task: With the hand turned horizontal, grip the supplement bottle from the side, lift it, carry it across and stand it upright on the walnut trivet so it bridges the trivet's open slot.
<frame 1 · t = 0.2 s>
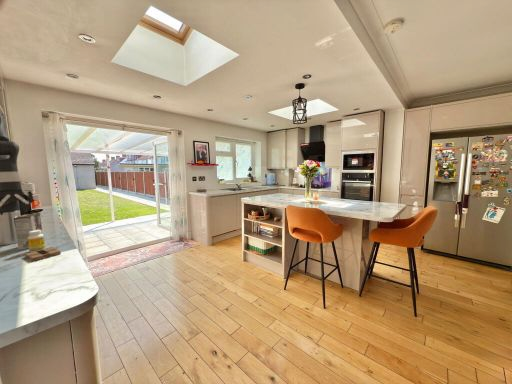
hand: (14, 212, 104), 18 cm above the counter, tool pointing down, fingers open, 8 cm apart
supplement bottle: (37, 250, 100), on the counter
walnut trivet: (43, 255, 93), on the counter
coffee box: (31, 246, 106), on the counter
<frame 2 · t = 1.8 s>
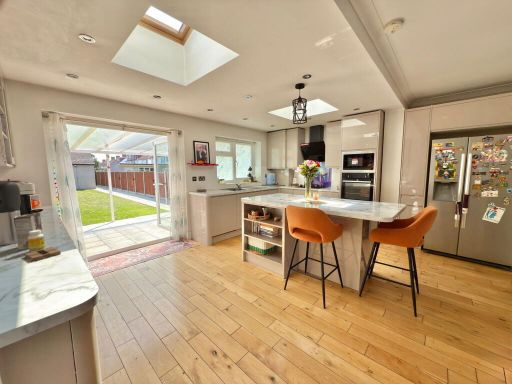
nothing on the counter moved.
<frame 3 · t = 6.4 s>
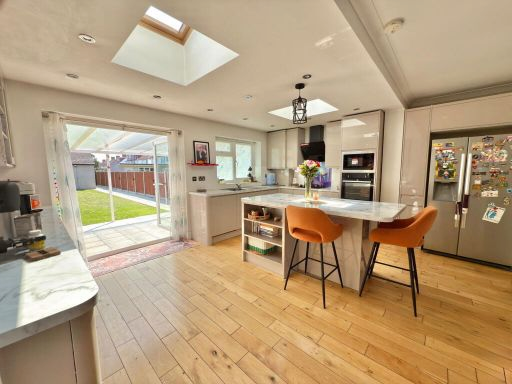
hand: (43, 236, 101), 6 cm above the counter, tool horizontal, fingers closed on supplement bottle, 5 cm apart
supplement bottle: (37, 250, 100), on the counter, touching gripper
everything else where it was.
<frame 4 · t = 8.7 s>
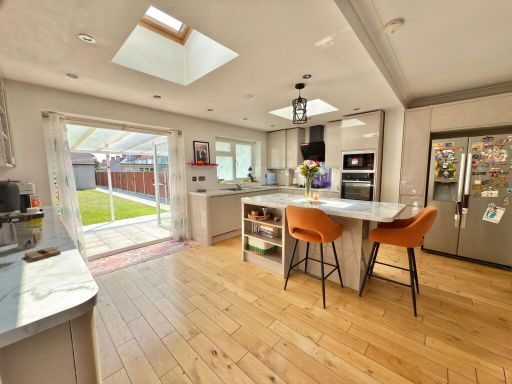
hand: (41, 214, 96), 18 cm above the counter, tool horizontal, fingers closed on supplement bottle, 5 cm apart
supplement bottle: (35, 229, 94), point 11 cm above the counter, touching gripper
everything else where it was.
when the fingers open (9 cm above the counter, at t = 11.3 s): supplement bottle drops 1 cm, resting on walnut trivet.
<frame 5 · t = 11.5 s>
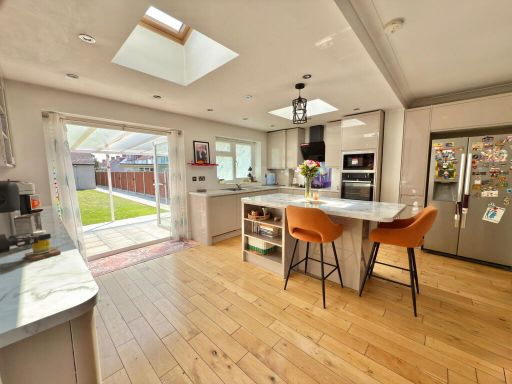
hand: (47, 234, 94), 9 cm above the counter, tool horizontal, fingers open, 7 cm apart
supplement bottle: (42, 252, 92), point 1 cm above the counter, touching walnut trivet
everything else where it was.
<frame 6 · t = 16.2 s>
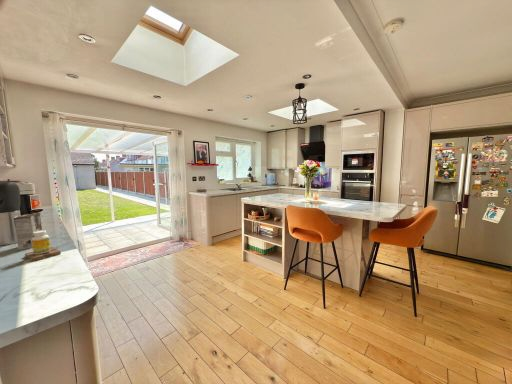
nothing on the counter moved.
at the end: supplement bottle 0.1 cm off-centre on the walnut trivet, point 1.3 cm above the walnut trivet's base; supplement bottle tilted 0°; the gripper is holding nothing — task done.
